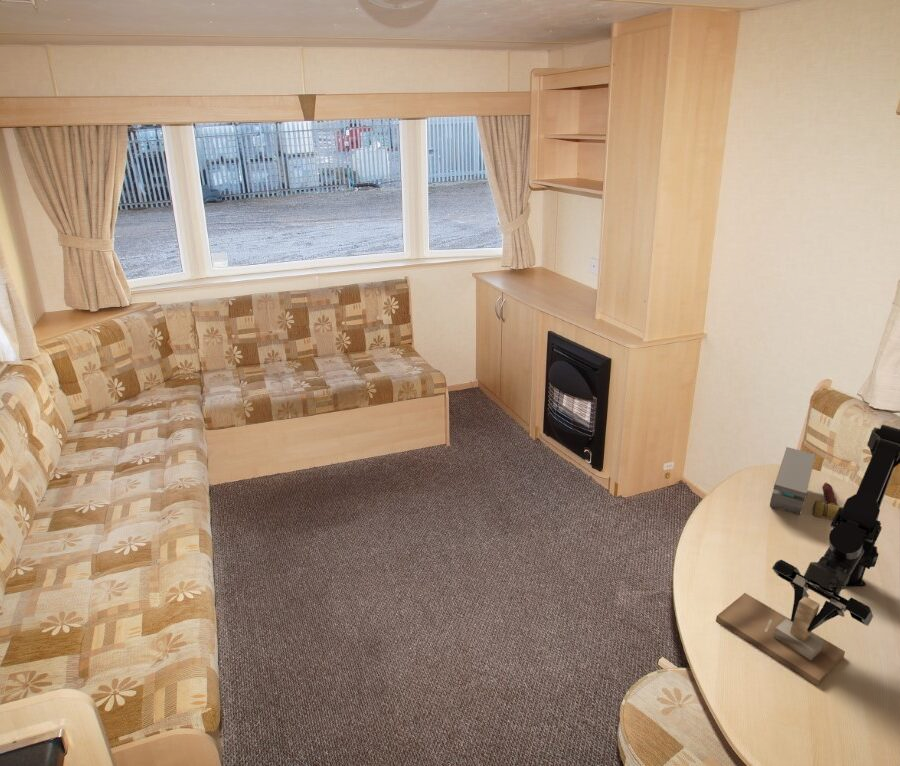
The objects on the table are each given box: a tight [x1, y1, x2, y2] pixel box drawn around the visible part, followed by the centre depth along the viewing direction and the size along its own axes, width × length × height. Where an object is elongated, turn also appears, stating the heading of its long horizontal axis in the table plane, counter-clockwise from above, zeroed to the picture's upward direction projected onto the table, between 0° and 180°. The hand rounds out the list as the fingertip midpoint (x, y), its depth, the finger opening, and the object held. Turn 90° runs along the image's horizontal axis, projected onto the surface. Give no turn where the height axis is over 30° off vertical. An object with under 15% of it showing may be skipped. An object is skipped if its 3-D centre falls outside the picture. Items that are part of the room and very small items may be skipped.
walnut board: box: [715, 592, 846, 687], centre depth 139 cm, size 22×12×2 cm, turn 39°
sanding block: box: [773, 596, 824, 660], centre depth 134 cm, size 8×4×11 cm, turn 37°
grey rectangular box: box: [769, 446, 816, 516], centre depth 186 cm, size 25×8×11 cm, turn 148°
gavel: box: [811, 481, 844, 520], centre depth 187 cm, size 21×5×10 cm
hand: (799, 626), depth 133 cm, fingers closed on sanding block, 3 cm apart
